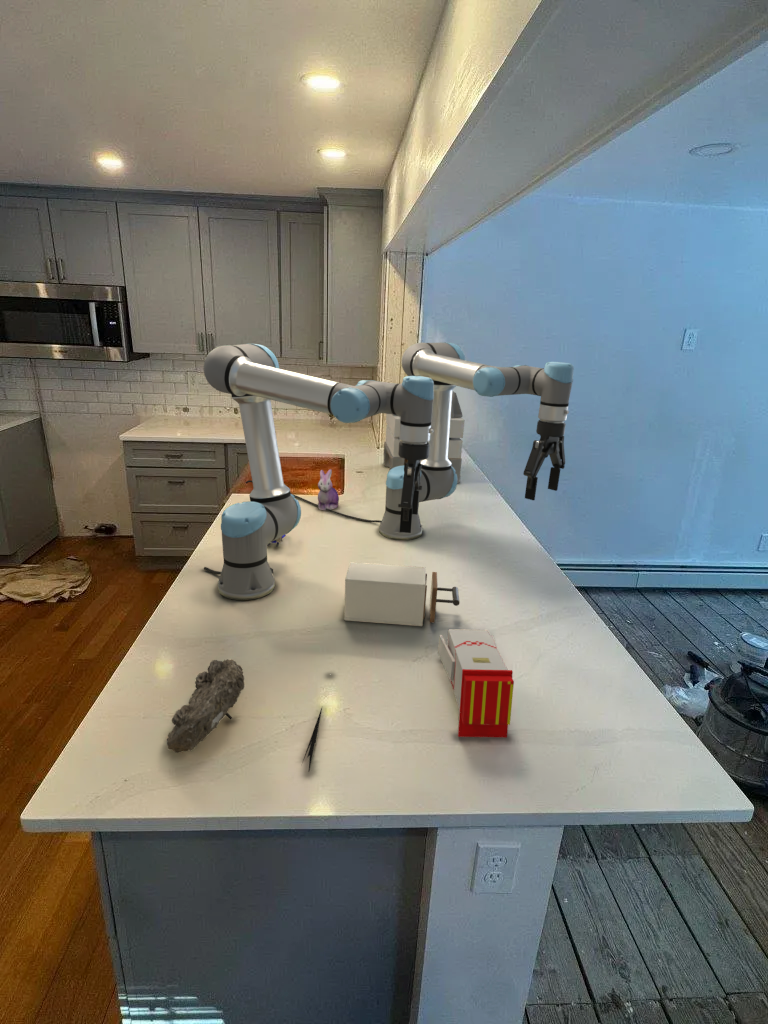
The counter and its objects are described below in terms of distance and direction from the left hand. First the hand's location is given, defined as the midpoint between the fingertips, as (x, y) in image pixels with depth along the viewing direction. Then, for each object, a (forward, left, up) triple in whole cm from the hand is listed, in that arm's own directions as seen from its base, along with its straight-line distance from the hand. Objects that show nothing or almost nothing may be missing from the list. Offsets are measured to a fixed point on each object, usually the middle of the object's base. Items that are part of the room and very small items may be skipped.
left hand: (408, 522), depth 146 cm
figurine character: (-51, +25, -23) cm, 61 cm away
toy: (+23, -32, -23) cm, 46 cm away
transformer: (-25, +127, -23) cm, 131 cm away
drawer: (+3, -6, -22) cm, 23 cm away
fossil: (-23, -57, -23) cm, 65 cm away
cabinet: (-3, -8, -23) cm, 25 cm away
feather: (-4, -51, -23) cm, 56 cm away
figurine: (-47, +63, -23) cm, 82 cm away
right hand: (+32, +29, +3) cm, 43 cm away
